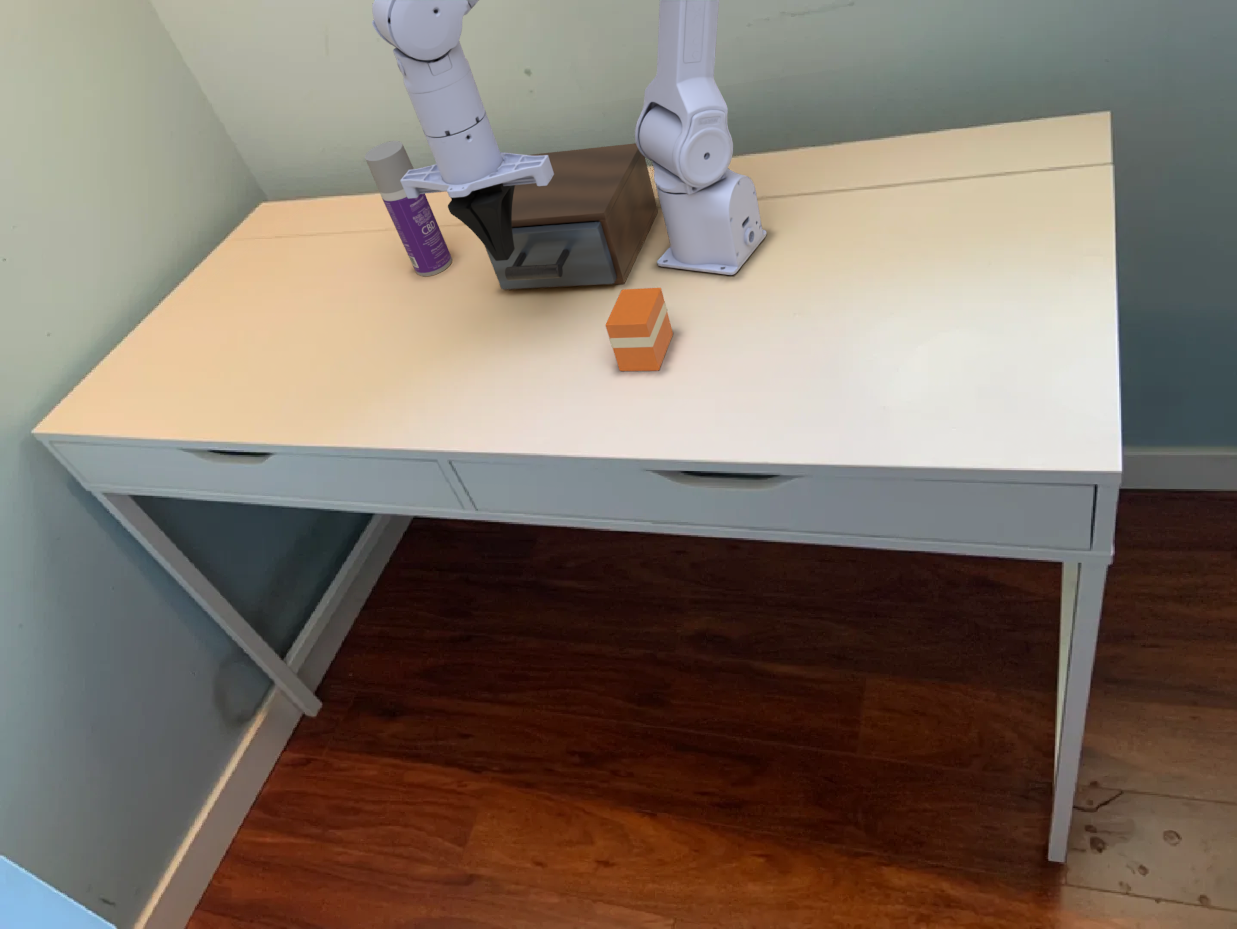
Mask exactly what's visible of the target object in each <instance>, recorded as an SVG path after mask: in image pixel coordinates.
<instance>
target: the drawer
mask: <svg viewBox="0 0 1237 929" xmlns="http://www.w3.org/2000/svg"><path fill="white" fill-rule="evenodd" d="M512 234H513V242H514V248H515V249H514V251H513V253H512V254H511V256H510V257H509V259H508V260H502V261H496V260H495V259H494V258H493V256H492V255H491V253H490V252H489V251H488V249H487V248H486V247H485V245H484V244H483V245H484V248H485V250H486V253H487V256H488V259H489V261H490V263H491V266H492V269H493V271H494V274H495V276H496V279H497V282H498V283H499V286H500V289H501V290H503V289H512V290H519V289H518V288H532V289H539V288H538V287H552V288H558V287H557V286H571V287H578V286H577V285H591V286H598V285H597V284H611V285H615V284H614V282H615V280H616V278H617V276H616V273H615V269H614V266H613V262H612V259H611V256H610V252H609V249H608V245H607V242H606V239H605V235H604V232H603V228H602V225H601V222H599V220H596V221H583V222H570V223H558V224H545V225H532V226H519V227H512Z"/></svg>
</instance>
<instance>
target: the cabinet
mask: <svg viewBox="0 0 1237 929" xmlns="http://www.w3.org/2000/svg"><path fill="white" fill-rule="evenodd" d="M530 155H531V156H543V155H548V157H549V160H550V163H551V166H552V169H553V172H554V175H553V177H552V179H551V180H550V182H549V183H548V185H547V186H537V184H536V183H531V184H521V185H515V188H514V194H513V202H512V227H519V226H532V225H545V224H558V223H570V222H583V221H596V220H599V222H601V225H602V228H603V232H604V235H605V239H606V242H607V245H608V249H609V252H610V256H611V259H612V262H613V266H614V269H615V273H616V276H617V278H616V280H615V282H614V284H613V285H624V284H625V283H626V281H627V279H628V278H629V274H630V272H631V270H632V269H633V266H634V264H635V261H636V260H637V258H638V255H639V254H640V252H641V249H642V247H643V244H644V242H645V240H646V239H647V236H648V234H649V232H650V229H651V228H652V225H653V224H654V221H655V219H656V217H657V214H658V213H659V209H658V206H657V200H656V197H655V196H656V195H655V193H654V188H653V185H652V181H651V176H650V172H649V168H648V164H647V160H646V158H645V157H644V156H643V155H642V154H641V153H640V151H639V149H638V147H637V145H636V142H635V143H625V144H616V145H606V146H598V147H587V148H580V149H579V148H578V149H569V150H561V151H551V152H541V153H533V154H530ZM607 285H612V284H597V285H596V286H607ZM587 286H588V287H589V286H592V285H577V286H576V287H587ZM567 287H570V288H571V287H572V286H557V287H556V288H567ZM549 288H553V287H538V288H537V289H549ZM530 289H533V288H518V289H517V290H530ZM502 290H503V291H508V290H509V291H510V290H513V289H502Z"/></svg>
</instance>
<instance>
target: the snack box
mask: <svg viewBox="0 0 1237 929" xmlns="http://www.w3.org/2000/svg"><path fill="white" fill-rule="evenodd" d="M605 329H606V333H607V335H608V339H609V342H610V345H611V346H610V347H611V348H612V351H613V354H614V357H615V361H616V363H617V367H618V370H619V372H644V371H645V372H646V371H647V372H649V371H651V372H652V371H657V372H658V371H660V369H661V367H662V364H663V361H664V359H665V356H666V353H667V351H668V348H669V346H670V343H671V341H672V338H673V336H674V332H673V328H672V325H671V321H670V317H669V313H668V307H667V304H666V300H665V298H664V293H663V289H662V288H661V287H647V288H646V287H645V288H625V289H621V290H620V292H619V294H618V297H617V299H616V301H615V303H614V306H613V307H612V310H611V312H610V314H609V316H608V318H607V320H606V322H605Z"/></svg>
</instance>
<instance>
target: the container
mask: <svg viewBox="0 0 1237 929" xmlns="http://www.w3.org/2000/svg"><path fill="white" fill-rule="evenodd" d="M364 159H365V162H366V164H367V166H368V169H369V171H370V174H371V176H372V178H373V181H374V183H375V185H376V187H377V190H378V193H379V195H380V197H381V199H382V201H383V204H384V206H385V208H386V211H387V212H388V214H389V217H390V219H391V222H392V224H393V225H394V228H395V230H396V232H397V234H398V237H399V238H400V240H401V243H402V245H403V247H404V250H405V251H406V255H407V257H408V258H409V260H410V262H411V265H412V267H413V269H414V271H415V273H416V274H417V275H418V276H420V277H432V276H435V275H437V274H440V273H442V272H444V271H445V270H447V269H448V268H449V267H450V266H451V264H452V263H453V257H452V254H451V253H450V250H449V248H448V245H447V243H446V241H445V238H444V236H443V233H442V231H441V228H440V226H439V224H438V221H437V219H436V216H435V214H434V212H433V209H432V206H431V204H430V202H429V200H428V197H427V195H426V194H420V195H419V196H418V197H417V198H409V199H408V198H407V195H406V193H405V191H404V188H403V186H402V184H401V182H400V180H401V179H402V178H403V176H404V175H405V174H406V173H407V172H408V170H412V169H415V168H414V166H413V164H412V161H411V158H410V157H409V155H408V153H407V150H406V148H405V146H404V144H403V142H402V141H399V140H390V141H386V142H385V141H384V142H382V143H380V144H378V145H376V146H373V147H372V148H371V149H369V150H368V151H367V152H366V153H365V155H364Z"/></svg>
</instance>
